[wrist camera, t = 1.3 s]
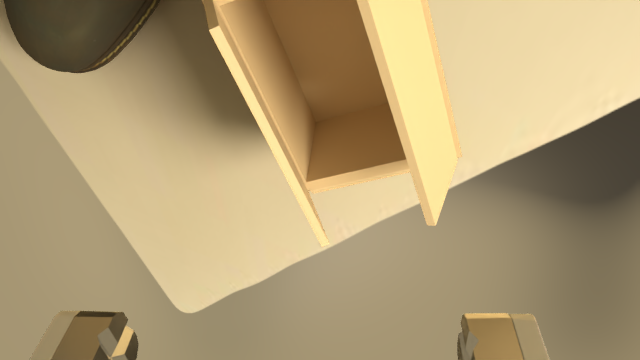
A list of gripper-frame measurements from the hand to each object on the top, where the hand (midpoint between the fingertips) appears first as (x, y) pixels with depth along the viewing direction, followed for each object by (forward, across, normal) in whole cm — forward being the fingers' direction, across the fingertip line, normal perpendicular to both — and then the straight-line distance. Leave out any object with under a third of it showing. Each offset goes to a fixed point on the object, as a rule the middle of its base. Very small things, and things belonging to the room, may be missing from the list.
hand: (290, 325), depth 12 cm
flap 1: (+25, +6, +8) cm, 27 cm away
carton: (+35, -1, +6) cm, 35 cm away
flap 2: (+25, -7, +5) cm, 26 cm away
